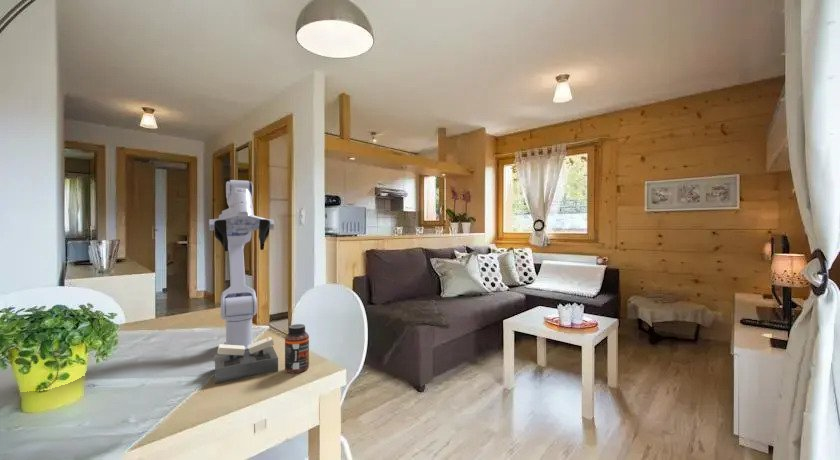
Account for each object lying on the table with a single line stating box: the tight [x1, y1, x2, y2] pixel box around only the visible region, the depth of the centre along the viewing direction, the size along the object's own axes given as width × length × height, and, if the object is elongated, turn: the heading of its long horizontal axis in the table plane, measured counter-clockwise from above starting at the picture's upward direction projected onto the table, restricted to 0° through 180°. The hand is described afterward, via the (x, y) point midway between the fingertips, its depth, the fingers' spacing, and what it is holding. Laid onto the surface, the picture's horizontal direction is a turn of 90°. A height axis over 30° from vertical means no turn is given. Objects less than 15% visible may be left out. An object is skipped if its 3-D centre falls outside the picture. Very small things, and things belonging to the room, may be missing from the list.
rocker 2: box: [247, 335, 275, 354], centre depth 95 cm, size 3×6×2 cm, turn 120°
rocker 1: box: [217, 343, 246, 355], centre depth 92 cm, size 3×6×2 cm, turn 120°
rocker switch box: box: [214, 345, 279, 385], centre depth 92 cm, size 10×14×4 cm
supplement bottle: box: [284, 323, 310, 374], centre depth 92 cm, size 6×6×11 cm
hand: (244, 247), depth 84 cm, fingers open, 7 cm apart
